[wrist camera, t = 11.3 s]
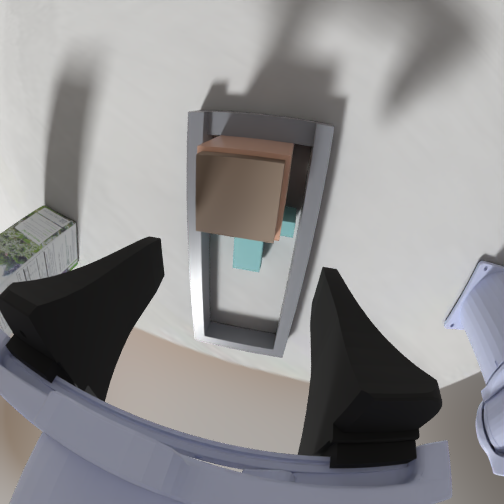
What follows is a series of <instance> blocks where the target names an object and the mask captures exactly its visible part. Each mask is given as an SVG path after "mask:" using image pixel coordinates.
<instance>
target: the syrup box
mask: <svg viewBox="0 0 504 504" xmlns="http://www.w3.org/2000/svg"><path fill="white" fill-rule="evenodd" d="M77 264H78V255H77V235H76V222H74V221H72V220H70V219H68V218H66V217H65V216H63V215H61V214H59V213H57V212H55V211H53V210H52V209H50V208H48V207H46V206H42V207H40V208H38V209H37V210H35V211H33V212H32V213H30V214H29V215H27V216H26V217H24V218H23V219H21V220H20V221H18V222H17V223H15V224H14V225H12V226H11V227H9V228H8V229H7V230H5V231H4V232H2V233H1V234H0V294H1V293H2V292H3V291H4V290H5V289H6V288H7V287H8V286H9V285H10V284H12V283H13V282H22V281H30V280H37V279H42V278H46V277H51V276H55V275H58V274H62V273H65V272H68V271H71V270H72V269H73V268H74V267H75V266H76V265H77ZM0 329H1V330H2V331H4V332H5V333H6V334H7V335H8V336H10V335H11V333H12V330H11V329H10V327H9V326H8V324H7V322H6V320H5V319H4V317H3V315H2V313H1V311H0Z"/></svg>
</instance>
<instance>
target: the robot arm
mask: <svg viewBox="0 0 504 504" xmlns="http://www.w3.org/2000/svg"><path fill="white" fill-rule="evenodd" d="M163 277H164V266H163V258H162V248H161V239H160V238H155V237H146V238H144V239H141V240H139V241H137V242H135V243H133V244H131V245H129V246H127V247H125V248H123V249H121V250H118V251H116V252H114V253H112V254H110V255H108V256H106V257H104V258H102V259H99V260H97V261H95V262H93V263H90V264H88V265H86V266H83V267H80V268H77V269H75V270H72V271H68V272H65V273H62V274H58V275H55V276H51V277H46V278H42V279H37V280H30V281H22V282H13V283H12V284H10V285H9V286H8V287H7V288H6V289H5V290H4V291H3V292H2V293H1V294H0V311H1V313H2V315H3V317H4V319H5V320H6V322H7V324H8V326H9V327H10V329H11V330H12V332H13V334H14V335H13V337H12V338H10V337H9V336H8V335H7V334H6V333H5V332H4V331H2V330H1V329H0V395H1V396H2V397H3V398H4V399H5V400H6V401H7V402H8V403H9V404H10V405H11V406H13V407H14V408H15V409H16V410H17V411H18V412H19V413H20V414H22V415H23V416H24V417H25V418H26V419H27V420H29V421H30V422H31V423H32V424H34V425H35V426H36V427H37V428H39V429H40V430H41V431H42V434H41V436H40V438H39V440H38V442H37V444H36V446H35V448H34V449H33V452H32V454H31V456H30V458H29V460H28V462H27V464H26V466H25V468H24V470H23V473H22V475H21V477H20V479H19V481H18V484H17V486H16V488H15V491H14V493H13V496H12V498H11V501H10V503H9V504H435V503H438V502H442V501H445V500H447V499H450V498H451V497H452V480H451V466H450V456H449V448H448V441H446V440H445V441H440V442H433V443H427V444H423V445H420V446H417V447H416V443H415V440H416V439H418V438H419V428H420V427H421V426H423V425H424V424H425V423H427V422H428V421H429V420H431V419H432V418H433V417H434V416H435V415H436V414H437V413H438V412H439V410H440V409H441V407H442V399H441V395H440V390H439V386H438V383H437V380H436V379H434V378H433V377H431V376H430V375H428V374H427V373H426V372H424V371H423V370H421V369H420V368H418V367H417V366H416V365H415V364H413V363H412V362H411V361H410V360H408V359H407V358H406V357H405V356H404V355H403V354H401V353H400V352H399V351H398V350H397V349H396V348H395V347H394V346H393V345H392V344H391V343H390V342H389V341H388V340H387V339H386V338H385V337H384V336H383V335H382V334H381V333H380V331H379V330H378V329H377V328H376V327H375V326H374V324H373V323H372V322H371V321H370V319H369V318H368V317H367V315H366V314H365V313H364V311H363V310H362V309H361V307H360V306H359V304H358V303H357V301H356V300H355V298H354V297H353V295H352V294H351V292H350V290H349V289H348V287H347V285H346V284H345V282H344V280H343V279H342V277H341V275H340V274H339V272H338V271H337V269H332V268H327V267H323V268H322V271H321V275H320V278H319V282H318V285H317V288H316V292H315V295H314V298H313V301H312V309H311V320H310V333H311V379H310V388H309V396H308V403H307V411H306V416H305V422H304V428H303V433H302V438H301V443H300V447H299V452H298V455H294V454H283V453H276V452H268V451H262V450H255V449H250V448H244V447H238V446H234V445H229V444H225V443H220V442H216V441H212V440H208V439H204V438H201V437H197V436H193V435H190V434H186V433H183V432H180V431H177V430H174V429H171V428H168V427H165V426H162V425H159V424H156V423H153V422H151V421H148V420H146V419H143V418H140V417H138V416H135V415H133V414H131V413H128V412H126V411H124V410H121V409H119V408H117V407H115V406H112V405H110V404H108V403H106V402H105V399H106V395H107V391H108V388H109V384H110V380H111V378H112V375H113V372H114V369H115V366H116V364H117V361H118V359H119V356H120V354H121V351H122V349H123V347H124V345H125V343H126V340H127V338H128V336H129V334H130V332H131V330H132V329H133V327H134V325H135V324H136V322H137V321H138V319H139V318H140V316H141V315H142V313H143V312H144V310H145V309H146V307H147V306H148V304H149V302H150V301H151V299H152V298H153V296H154V295H155V293H156V292H157V290H158V288H159V286H160V283H161V281H162V279H163ZM444 327H445V328H447V329H463V330H465V332H466V334H467V336H468V339H469V341H470V343H471V346H472V348H473V351H474V353H475V356H476V358H477V361H478V363H479V366H480V369H481V372H482V375H483V377H484V380H485V383H486V387H485V388H484V389H483V390H482V391H481V394H482V397H483V401H482V402H481V403H480V405H479V407H478V410H477V417H476V432H477V437H478V440H479V442H480V445H481V447H482V448H483V450H484V451H485V452H486V454H487V456H488V458H489V460H490V463H491V467H492V469H493V473H494V474H496V475H500V476H504V266H501V265H497V264H494V263H490V262H486V261H480V262H479V263H478V265H477V267H476V269H475V271H474V273H473V275H472V277H471V279H470V281H469V282H468V284H467V286H466V288H465V290H464V292H463V293H462V295H461V297H460V299H459V300H458V302H457V304H456V305H455V307H454V309H453V310H452V312H451V313H450V315H449V317H448V318H447V320H446V321H445V323H444ZM191 457H192V458H191ZM193 458H195V459H193ZM196 459H199V460H202V461H206V462H210V463H214V464H219V465H223V466H228V467H232V468H238V469H243V471H242V473H241V472H237V471H233V470H229V469H226V468H222V467H218V466H215V465H212V464H209V463H205V462H202V461H199V460H196Z"/></svg>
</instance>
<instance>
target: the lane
mask: <svg viewBox="0 0 504 504" xmlns="http://www.w3.org/2000/svg"><path fill="white" fill-rule="evenodd" d="M333 133H334V126H332V125H331V124H326V123H320V122H315V121H309V120H303V119H297V118H290V117H282V116H274V115H266V114H256V113H244V112H230V111H208V110H198V111H191V112H188V132H187V229H188V254H189V273H190V288H191V302H192V314H193V325H194V335H195V340H197V341H201V342H205V343H209V344H214V345H218V346H223V347H227V348H232V349H237V350H242V351H247V352H252V353H258V354H263V355H269V356H275V357H281V358H282V357H283V353H284V350H285V347H286V343H287V340H288V336H289V333H290V329H291V326H292V322H293V318H294V315H295V311H296V307H297V303H298V300H299V296H300V292H301V288H302V284H303V280H304V276H305V272H306V268H307V264H308V260H309V255H310V251H311V247H312V242H313V238H314V233H315V229H316V224H317V220H318V215H319V210H320V205H321V200H322V195H323V190H324V185H325V180H326V174H327V169H328V163H329V158H330V152H331V146H332V140H333ZM213 135H224V136H236V137H246V138H256V139H264V140H272V141H280V142H287V143H293V144H300V145H306V146H312V147H311V154H310V160H309V167H308V173H307V179H306V185H305V191H304V197H303V203H302V208H301V214H300V219H299V225H298V230H297V236H296V241H295V246H294V251H293V256H292V261H291V266H290V271H289V276H288V281H287V286H286V290H285V295H284V300H283V304H282V309H281V313H280V318H279V322H278V326H277V331H276V334H273V333H268V332H262V331H256V330H251V329H246V328H241V327H236V326H231V325H226V324H221V323H216V322H212V321H210V233H205V232H199V231H196V207H195V196H196V154H197V146H198V145H200V144H202V143H204V142H207V141H209V140H211V139H213Z"/></svg>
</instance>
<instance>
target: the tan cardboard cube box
mask: <svg viewBox="0 0 504 504" xmlns="http://www.w3.org/2000/svg"><path fill="white" fill-rule="evenodd" d="M293 149H294V144H293V143H287V142H280V141H272V140H264V139H256V138H246V137H236V136H224V135H220V136H218V137H215V138H213V139H211V140H209V141H207V142H204V143H202V144H200V145H198V146H197V154H196V196H195V207H196V231H199V232H205V233H212V234H218V235H224V236H230V237H237V238H243V239H249V240H255V241H261V242H267V243H274V240H277V241H279V239H280V233H281V228H282V222H283V217H284V211H285V205H286V199H287V192H288V185H289V178H290V171H291V164H292V157H293Z"/></svg>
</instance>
